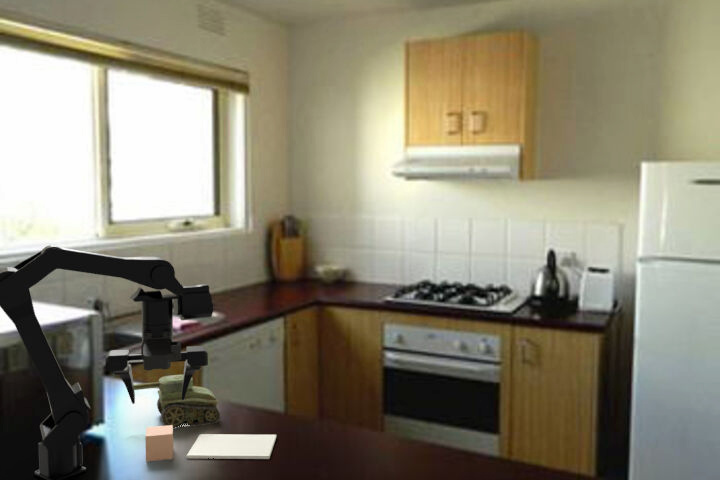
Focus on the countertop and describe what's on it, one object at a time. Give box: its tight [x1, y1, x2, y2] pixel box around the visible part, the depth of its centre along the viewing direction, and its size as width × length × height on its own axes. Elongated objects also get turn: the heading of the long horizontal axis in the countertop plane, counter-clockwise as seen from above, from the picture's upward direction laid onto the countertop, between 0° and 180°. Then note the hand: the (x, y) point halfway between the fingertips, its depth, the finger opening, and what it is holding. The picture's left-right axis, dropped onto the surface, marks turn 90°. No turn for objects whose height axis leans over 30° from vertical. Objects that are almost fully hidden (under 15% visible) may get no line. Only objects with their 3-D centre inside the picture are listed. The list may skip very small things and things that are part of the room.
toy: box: [134, 374, 221, 429], centre depth 151 cm, size 10×18×10 cm, turn 113°
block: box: [144, 425, 174, 462], centre depth 132 cm, size 5×5×5 cm
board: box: [186, 433, 277, 460], centre depth 136 cm, size 16×11×1 cm
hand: (158, 401), depth 131 cm, fingers open, 9 cm apart
